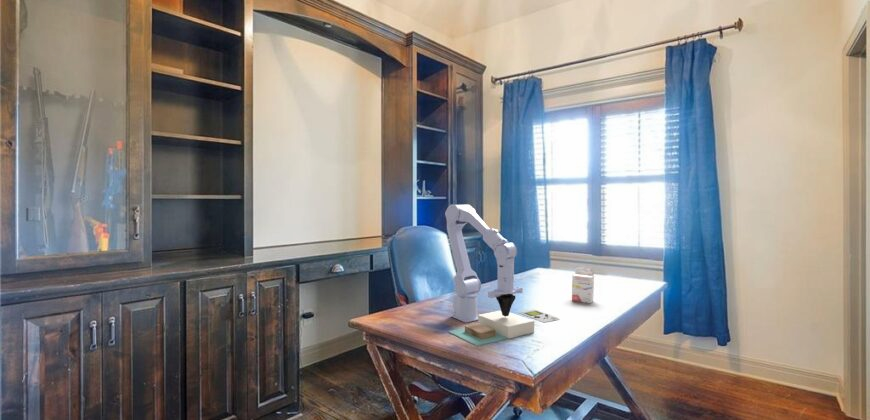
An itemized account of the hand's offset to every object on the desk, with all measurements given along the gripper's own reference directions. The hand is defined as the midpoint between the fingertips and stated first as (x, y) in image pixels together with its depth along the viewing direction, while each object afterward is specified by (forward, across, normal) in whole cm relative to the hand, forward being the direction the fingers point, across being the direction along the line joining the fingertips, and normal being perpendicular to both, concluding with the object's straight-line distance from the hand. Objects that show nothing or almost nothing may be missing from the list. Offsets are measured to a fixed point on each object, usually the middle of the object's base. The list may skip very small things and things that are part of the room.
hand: (505, 315), depth 146 cm
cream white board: (+5, 0, 0) cm, 5 cm away
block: (+2, -12, 0) cm, 12 cm away
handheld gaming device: (+5, +22, +5) cm, 23 cm away
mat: (+5, -12, 0) cm, 13 cm away
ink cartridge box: (+5, +56, +11) cm, 57 cm away
